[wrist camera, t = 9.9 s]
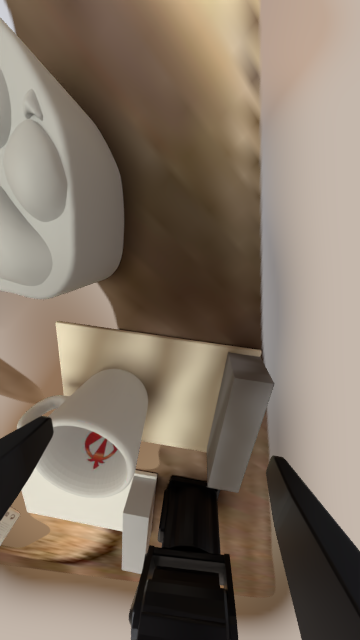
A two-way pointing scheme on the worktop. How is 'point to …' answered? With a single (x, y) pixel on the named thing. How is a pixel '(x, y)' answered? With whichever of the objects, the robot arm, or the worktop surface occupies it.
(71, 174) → the lumpy-topped squat cylinder
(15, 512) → the skincare box
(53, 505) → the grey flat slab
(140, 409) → the cup
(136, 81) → the worktop surface
